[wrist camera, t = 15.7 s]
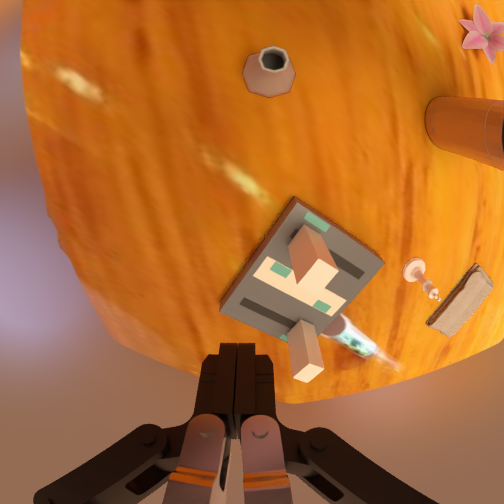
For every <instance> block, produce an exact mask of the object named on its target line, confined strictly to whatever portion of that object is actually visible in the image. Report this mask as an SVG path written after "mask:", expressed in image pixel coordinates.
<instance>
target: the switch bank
mask: <svg viewBox="0 0 504 504" xmlns="http://www.w3.org/2000/svg"><path fill="white" fill-rule="evenodd" d="M304 224H305V225H306V226H308V227H310V228H311V229H313V230H314V231H316V232H317V233H319V234H320V235H321V236H322V238H323V240H324V242H325V244H326V246H327V248H328V250H329V252H330V254H331V256H332V258H333V260H334V262H335V264H336V266H337V268H338V270H339V271H338V272H337V274H336V275H335V276H334V277H333V278H332V280H331V281H330V282H329V283H328V284H327V285H326V287H325V288H324V289H323V290H322V291H321V292H320V293H319V295H318V296H316V295H314V294H312V293H311V292H309V291H307V290H305V289H303V288H301V287H299V286H298V285H297V283H296V279H295V275H294V271H293V266H292V262H291V258H290V254H289V249H288V245H289V243H290V242H291V241H292V239H293V238H294V237H295V235H296V234H297V233H298V231H299V230H300V229H301V227H302V226H303V225H304ZM384 264H385V262H384V261H383V260H382V258H381V257H380V256H379V254H377V253H376V252H375V251H373V250H372V249H371V248H369V247H368V246H366V245H365V244H364V243H362V242H361V241H360V240H358V239H357V238H355V237H354V236H352V235H351V234H350V233H348V232H347V231H345V230H344V229H343V228H341V227H340V226H338V225H337V224H335V223H334V222H332V221H331V220H329V219H328V218H326V217H325V216H323V215H322V214H321V213H319V212H318V211H316V210H315V209H313V208H311V207H310V206H308V205H307V204H305V203H304V202H302V201H301V200H299V199H298V198H296V197H295V196H294V197H293V199H292V200H291V202H290V203H289V205H288V206H287V207H286V209H285V210H284V212H283V213H282V215H281V216H280V217H279V219H278V220H277V222H276V223H275V225H274V226H273V227H272V229H271V230H270V232H269V233H268V235H267V236H266V237H265V239H264V240H263V242H262V243H261V245H260V246H259V247H258V249H257V250H256V252H255V253H254V255H253V256H252V257H251V259H250V260H249V262H248V263H247V265H246V266H245V267H244V269H243V270H242V272H241V273H240V274H239V276H238V277H237V279H236V280H235V282H234V283H233V284H232V286H231V287H230V289H229V290H228V292H227V293H226V294H225V296H224V297H223V299H222V300H221V304H220V310H219V312H221V313H223V314H225V315H228V316H230V317H232V318H234V319H236V320H238V321H240V322H243V323H245V324H247V325H249V326H251V327H254V328H256V329H258V330H260V331H262V332H265V333H267V334H269V335H272V336H274V337H276V338H278V339H281V340H283V341H286V342H288V337H287V333H288V332H289V331H290V330H291V329H292V328H293V327H294V326H295V325H296V324H297V323H298V322H299V320H300V319H302V320H304V321H306V322H308V323H310V324H312V325H314V326H315V331H316V335H317V336H318V335H320V334H321V333H322V331H323V330H325V328H326V327H327V326H328V325H329V324H330V323H331V322H332V321H333V320H334V319H335V318H336V317H337V316H338V315H339V314H340V313H341V312H342V311H343V310H344V309H345V308H346V307H347V306H348V305H349V303H350V302H351V301H352V300H353V299H354V298H355V297H356V296H357V295H358V294H359V292H360V291H361V290H362V289H363V288H364V287H365V286H366V285H367V283H368V282H369V281H370V280H371V279H372V278H373V277H374V275H375V274H376V273H377V272H378V271H379V270H380V268H381V267H382V266H383V265H384Z"/></svg>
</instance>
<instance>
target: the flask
mask: <svg viewBox="0 0 504 504" xmlns="http://www.w3.org/2000/svg"><path fill="white" fill-rule="evenodd" d="M242 75H243V78H244V80H245V83H246V85H247V88H248V90H249V92H251V93H255V94H258V95H261V96H265V97H268V98H271V97H275V96H278V95H282V94H285V93H289V92H290V90H291V87H292V84H293V81H294V78H295V76H296V73H295V71H294V68H293V65H292V63H291V60H290V58H289V56H288V55H287V52H286V50H285V49H282V48H279V47H276V46H271V47H267V48H264V49H262V50H261V52H260V53H256V54H253V55H249V56H248V58H247V61H246V64H245V67H244V69H243V72H242Z"/></svg>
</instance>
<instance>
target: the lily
mask: <svg viewBox="0 0 504 504" xmlns="http://www.w3.org/2000/svg"><path fill="white" fill-rule="evenodd" d="M473 20H474V21H471V20H466V19H459V22H460V23H461V24H462V25H463V26H464V27H465V28H466V29H467V30H468V31H469V33H468V34H467V36H466V37H465V39H464V41H463V44H462V48H463V49H481V48H483V50H484V52H485V54H486V56H487V58H488V59H489V61H490V62H491V64H492V65H493V64H494V61H495V57H496V50H498V51H502V52H504V36H503V35H502V34H503V32H504V22H491V20H490V18H489V17H488V16H487V14H486V13H485V11H484V10H483V9H482V8H481V6H480V5H478V4H476V5H475V8H474V14H473Z"/></svg>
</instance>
